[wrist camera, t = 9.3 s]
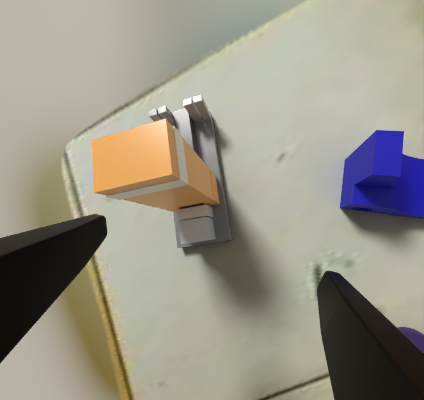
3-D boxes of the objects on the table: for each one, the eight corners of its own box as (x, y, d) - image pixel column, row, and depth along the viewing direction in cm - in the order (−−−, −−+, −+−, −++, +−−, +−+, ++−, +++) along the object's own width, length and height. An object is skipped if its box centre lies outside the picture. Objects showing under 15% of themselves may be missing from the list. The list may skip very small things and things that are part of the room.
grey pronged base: (232, 239, 21) (224, 241, 17) (181, 247, 22) (162, 250, 18) (211, 115, 24) (200, 91, 19) (167, 128, 25) (148, 108, 21)
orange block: (220, 204, 20) (173, 175, 10) (176, 212, 21) (93, 193, 11) (215, 174, 21) (166, 117, 11) (172, 183, 22) (91, 139, 12)
